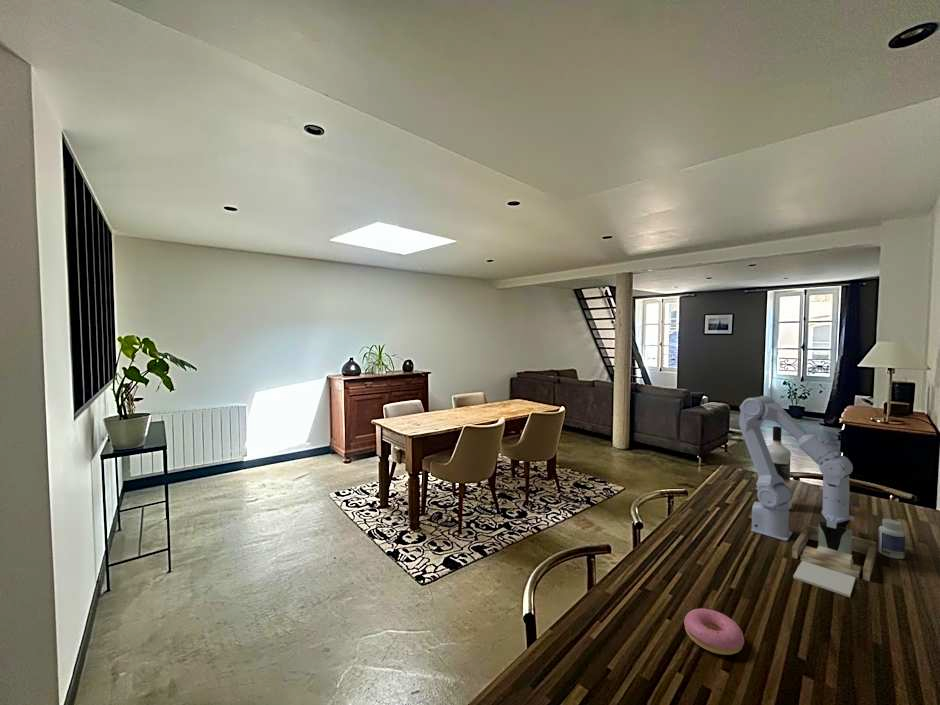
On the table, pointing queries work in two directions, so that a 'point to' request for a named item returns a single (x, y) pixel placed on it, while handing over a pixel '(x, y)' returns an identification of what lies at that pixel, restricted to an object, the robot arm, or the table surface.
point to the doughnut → (714, 631)
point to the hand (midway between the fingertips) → (834, 544)
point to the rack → (835, 554)
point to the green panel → (844, 543)
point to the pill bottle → (891, 539)
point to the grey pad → (825, 578)
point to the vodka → (780, 457)
